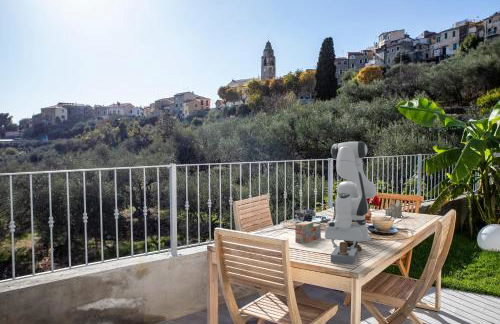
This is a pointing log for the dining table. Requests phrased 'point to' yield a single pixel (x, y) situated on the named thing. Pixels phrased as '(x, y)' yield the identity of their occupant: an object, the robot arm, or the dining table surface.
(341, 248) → the walnut peg
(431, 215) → the dining table surface
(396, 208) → the ceramic cottage
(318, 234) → the stack of blocks
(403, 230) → the dining table surface
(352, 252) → the two-hole board
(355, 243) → the beige rough lumpy piece
